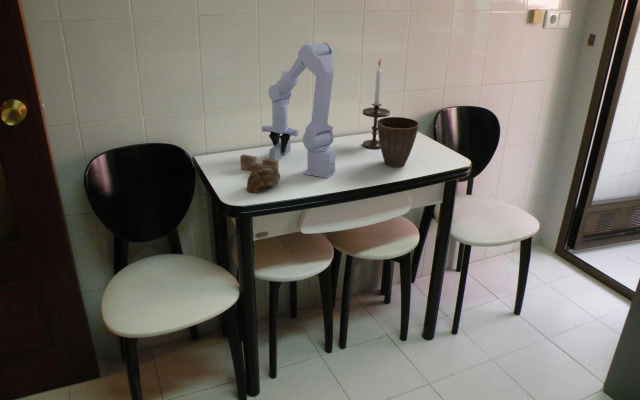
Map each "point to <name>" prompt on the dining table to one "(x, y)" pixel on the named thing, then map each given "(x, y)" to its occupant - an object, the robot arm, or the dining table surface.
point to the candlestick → (375, 114)
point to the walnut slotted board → (251, 164)
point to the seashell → (262, 178)
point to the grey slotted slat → (279, 151)
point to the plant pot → (396, 139)
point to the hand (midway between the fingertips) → (280, 151)
